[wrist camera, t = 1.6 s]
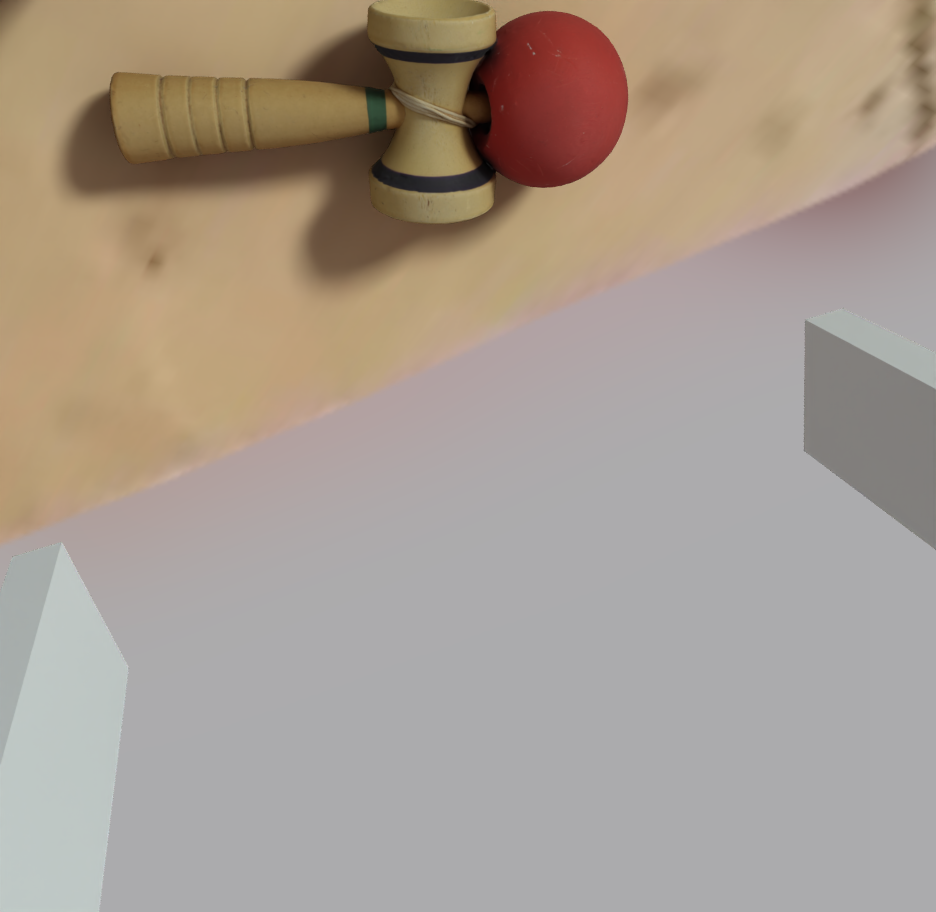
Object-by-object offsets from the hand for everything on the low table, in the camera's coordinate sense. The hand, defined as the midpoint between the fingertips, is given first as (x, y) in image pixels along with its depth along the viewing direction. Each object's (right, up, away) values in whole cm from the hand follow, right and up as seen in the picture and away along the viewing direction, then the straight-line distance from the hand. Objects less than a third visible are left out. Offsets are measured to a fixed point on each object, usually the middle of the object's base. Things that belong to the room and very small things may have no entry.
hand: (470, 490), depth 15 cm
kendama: (-4, +14, +18) cm, 23 cm away
